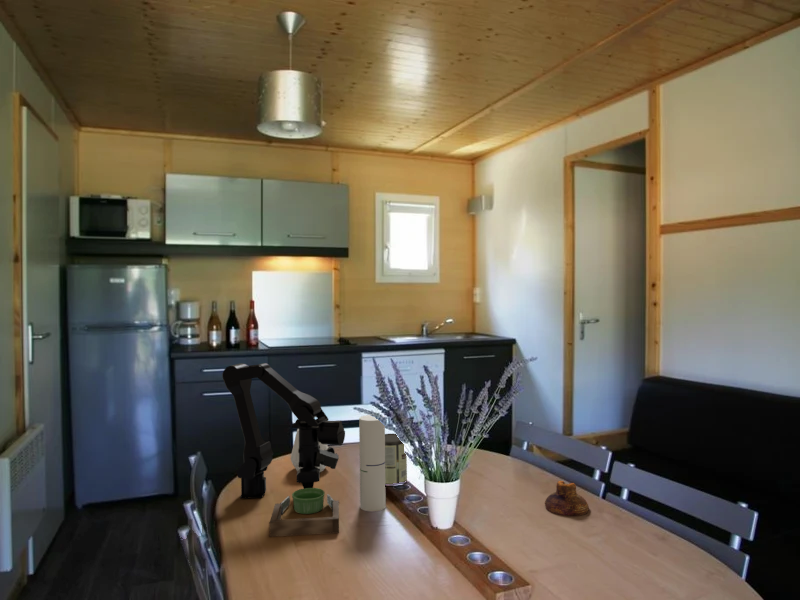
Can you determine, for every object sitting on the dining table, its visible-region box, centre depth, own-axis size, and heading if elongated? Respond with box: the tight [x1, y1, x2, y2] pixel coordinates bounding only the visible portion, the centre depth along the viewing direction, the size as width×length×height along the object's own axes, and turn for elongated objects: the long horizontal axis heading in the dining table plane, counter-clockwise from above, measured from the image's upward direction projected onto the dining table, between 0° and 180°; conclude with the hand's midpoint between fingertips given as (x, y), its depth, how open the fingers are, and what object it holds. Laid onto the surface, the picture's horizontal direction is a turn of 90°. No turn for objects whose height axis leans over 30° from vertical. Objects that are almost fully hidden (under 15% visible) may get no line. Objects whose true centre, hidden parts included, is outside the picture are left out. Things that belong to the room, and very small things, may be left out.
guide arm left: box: [280, 495, 291, 516], centre depth 154 cm, size 6×1×3 cm, turn 170°
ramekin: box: [291, 487, 326, 515], centre depth 155 cm, size 9×9×4 cm
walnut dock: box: [268, 500, 340, 538], centre depth 144 cm, size 17×12×4 cm
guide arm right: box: [326, 493, 336, 513], centre depth 155 cm, size 6×1×3 cm, turn 22°
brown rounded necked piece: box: [544, 480, 590, 517], centre depth 154 cm, size 12×12×7 cm
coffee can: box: [385, 433, 408, 484], centre depth 177 cm, size 10×10×14 cm
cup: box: [290, 428, 329, 473], centre depth 190 cm, size 13×13×14 cm
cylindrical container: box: [358, 414, 387, 512], centre depth 156 cm, size 7×7×25 cm
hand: (309, 496), depth 161 cm, fingers closed
